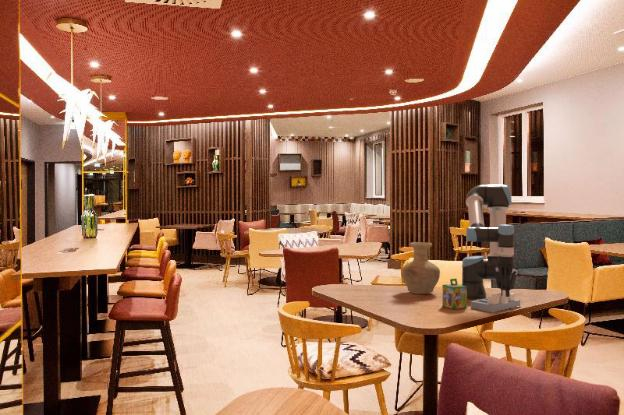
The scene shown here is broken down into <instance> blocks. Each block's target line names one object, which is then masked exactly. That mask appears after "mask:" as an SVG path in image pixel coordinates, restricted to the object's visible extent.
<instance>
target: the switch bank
mask: <svg viewBox="0 0 624 415" xmlns="http://www.w3.org/2000/svg"><path fill="white" fill-rule="evenodd" d="M517 306H520V307H521V299H517V298H515V301H508V303H506V304H504V303H500V302H499V304H495V305H494V304H488V297H486V298H485V299H474V300H471V301H470V309H473V310H479V311H482V312H488V313H496V312H497V311H498V312H501V310H502V311H506V310H505V309H507V310H510V309H509V308H512V309H514V308H513V307H516V308H518V307H517ZM498 312H497V313H498Z"/></svg>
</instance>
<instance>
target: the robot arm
mask: <svg viewBox="0 0 624 415" xmlns="http://www.w3.org/2000/svg"><path fill="white" fill-rule="evenodd" d="M465 204H466V207H467V210H468V212H467V213H468V224H469V226H468V227H466V231H465V233H466V234H465V235H466V236H465V237H466V238H465V239H466V241H468V242H473V243H474V242H475V243H476V242H477V243H480V242H482V243H483V242H484V243H485V242H486V243H488V242H489V253H488V254H487V256H486V258H484V256H482V255H473V256H472V255H471V256H466V257H464V258H463V259H462V263H461V267H462V268H461V269H462V272H461V275H462V276H461V285H463V286H467V300H481V299H486V298H487V292H486V289H485V285H484V280H495V281H496V286H497V288H498V289H500V293H501V296H502V303H504V304H506V303H508V297H509V296H510V291H511V290H514V289H515V285H516V280H517V275H518V274H519V270H516V269H515V267H514V263H515V262H514V261H515V258H514V255H515V248H514V247H515V246H514V245H515V228H514V227H515V226H514V225H513V224H507V211H508V209H509V206H511V205H512V192H511V189H510V187H509V186H508V185H506V184H479V185H478V184H477V185H476V186H474V187H472V188H471V189H470V190H469V191H468V193H467V194H466V197H465ZM483 206H486V207H487V208H486V209H488V211H489V227H485V220H484V212H483V211H484V209H483Z"/></svg>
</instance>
